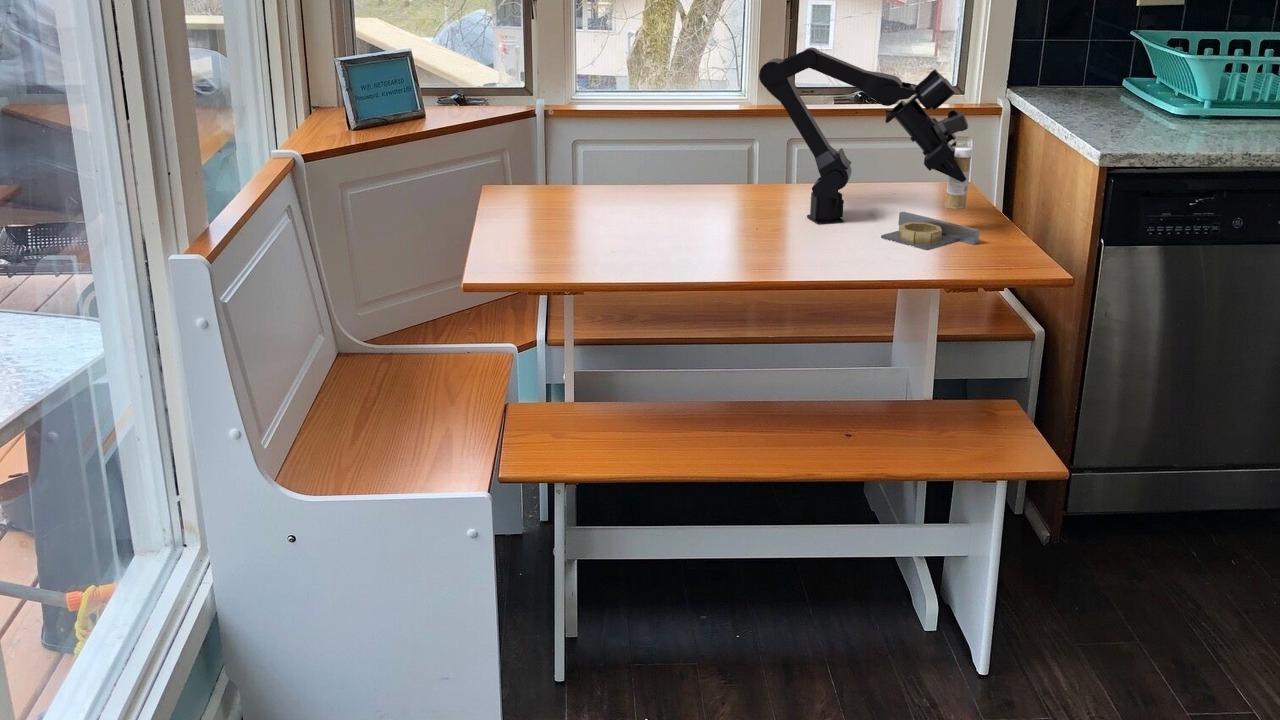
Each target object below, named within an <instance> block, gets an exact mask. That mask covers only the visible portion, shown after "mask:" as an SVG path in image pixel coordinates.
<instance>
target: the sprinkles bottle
mask: <svg viewBox="0 0 1280 720" xmlns="http://www.w3.org/2000/svg"><path fill="white" fill-rule="evenodd" d="M952 148H953V149H954V148H955V156H954V158H955V160H956V162H957V163H958V165H959V167H960V169H961V170H962V172H963V174H964V175H965V177H966V180H965V181H964V182H961V181H958V180H956V179H954V178H952V177H950V176H948V175H947V177H948V178H947V183H946V184H947V185H946V198H945V203H944V207H945V208H947V209H949V210H955V211H958V210H964V209H966V207H967V206H966V204H967V196H968V195H967V194H968V187H969V181H970V169H971V159H972V156H973V148H972V147H971V146H969V145H961V144H959V145H957V144H956V146H952Z"/></svg>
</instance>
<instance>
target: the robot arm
mask: <svg viewBox="0 0 1280 720" xmlns="http://www.w3.org/2000/svg"><path fill="white" fill-rule="evenodd" d="M807 69H811V70H814V71H815V72H819V73H820V74H823V75H826V76H828V77H831V78H834V79H835V80H837V81H840V82H842V83H845V84H847V85H850V86H852V87H854V88H857V89H858V90H860V91H862V92H863V94H865V95H867V96H868V97H869V98H870V99H872V100H874V101H875V102H877V103H879V104H880V105H882V106H886V107H890V106H893V105H895V104H896V105H895V106H894V107H893V108H887V109H886V110H885V116H886V117H885V121H884V122H885V123H886V124H888V123H890V122H891V121H892V120H893V119H895V120H896V121H897V122H898V124H899V125H900V126H901V127H902V128H903V129H904V130H905V132H907V134H908V135H909V136H910V138H909V139H910V140H911V141H912V142H915V143H916V144H917V146H918V147H919V148H920V149H921V151H922V154H923V155H924V160H923V165H924V166H925V168H926V169H927V170H928V172H929V171H932V170H933V171H937V172H939V173H941V174H944V175H946V176H947V177H948V176H950V177H952V178H954V179H956V180H958V181H961V182H964V181H965V180H966V177H965V175H964V174H963V172H962V170H961V169H960V167H959V165H958V163H957V162H956V160H955V158H954V156H955V148H954V149H953V148H952V146H957V142H958V141H957V140H956V137H957V136H956V133H959V132H965V131H966V130H968V128H969V123H968V120H967V118H966V115H965V112H962V111H961V112H958V110H956V108H953V109H951V110H949V111H948V113H947V117H945V118H943V119H942V120H937V119H936V118H935V117H931V116H930V115H929V114H928V113H927V112H926V110H927V111H928V110H931V109H933V110H934V111H936V110H937V109H939V108H940V107H941V106H942V105H943V104H944V103H945V102H947V101H948V100H950V98H951V97H953V96H954V95H955V94H957V91H956V89H955V88H954V86H953V85H952V83H950V81H949V80H948V79H947V78H945V77H944V76H943V75H942V74H941V73H940V72H938V71H937V69H936V68H933V70H931V71H930V73H928V75H927V76H926V77H925V78H923V79H922V81H920V82H919V83H918V84H916V83H911V82H906V81H905V82H904V81H902V79H900V77H898V76H896V75H894V74H893V75H892V74H890V73H889V74H888V73H884V72H877V71H871V70H866V69H864V68H862V67H859V66H856V65H854V64H852V63H849V62H846V61H844V60H841V59H840V58H837V57H834V56H833V55H829V54H827V53H825V52H822V51H820V50H819V49H817V48H816V47H807V48H805V50H802V51H800V52H798V53H796V54H793V55H790V56H787V57H786V58H783V59H782V58H777V57H776V58H772V59H770V60H769V61H767V62H766V63H764V64H763V65H762V66H761V68H760V70H759V73H758V74H759V75H758V78H759V79H758V80H759V81H760V83H761V85H763V87H764V88H765V89H766V90H767V91H768V92H769V93H770V94H771V96H773V97H774V98H775V99H776V100H777V101H779V103H781V105H782V106H783V108H784V110H785V111H786V112H787V115H788V116H789V118H790V120H791V121H792V123H793V124H794V126H795V127H796V129H797V130H798V132H799V133H800V135H801V137H802V139H803V140H804V142H805V144H806V145H807V147H808V149H809V150H810V152H811V153H812V155H813V157H814V161H815V163H816V166H817V171H818V172H819V176H820V177H818V178H817V179H816V181H815V182H814V184H813V186H811V190H812V192H810V194H811V195H810V196H811V197H810V206H809V207H810V210H809V214H807V215H806V218H808V219H809V220H811V221H813V222H814V223H815V224H818V225H821V224H834V223H843V222H844V221H845V220H844V219H843V217H844V202H845V201H844V199H843V193H842V192H840V191H839V190H842V189H843V188H845V187H846V185H847V184H848V183H849V180H850V178H851V175H852V168H851V165H852V161H851V160H850V159H848V157H847V156H846V153H845V151H844V149H843V148H842V147H841V148H840V149H839V150H838V151H837V150H836V149H835V148H834V147H833V146H831V145H830V143H829V141H828V139H827V137H826V136H825V134H824V132H822V130H821V128H820V126H819V125H818V124H817V122H816V120H815V118H814V117H813V115H812V114H811V112H810V110H809V108H808V107H807V106H806V104H805V102H804V101H803V99H802V97H801V96H800V93H798V90H797V85H796V81H795V79H794V75H797V74H799V73H801V72H802V71H805V70H807ZM911 97H912V98H911ZM904 100H908V101H907V102H905V101H904ZM917 100H918V101H919V102H918V101H917ZM899 101H900V102H899ZM897 103H898V104H897ZM921 105H922V106H923V107H924V108H923V107H922V106H921ZM952 140H953V141H954V142H952V143H951V144H950V142H951V141H952ZM955 140H956V141H955Z"/></svg>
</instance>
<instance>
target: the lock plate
mask: <svg viewBox="0 0 1280 720" xmlns="http://www.w3.org/2000/svg"><path fill="white" fill-rule="evenodd" d="M898 225H899V226H898ZM898 225H897V226H898V230H896V231H892V232H889V233H884V234H881V236H880V238H881V239H883V238H884V239H883V240H887V239H888V241H891V240H892V241H891V242H894V241H896V243H898V242H899V243H898V244H902V245H906V246H909V245H911V247H913V246H914V247H915V248H918V249H922V250H924V251H927V250H928V251H929V250H931V249H934V248H935V249H936V248H939V247H941V246H946V245H948V244H952V243H956V242H960V243H965V244H968V245H973V246H975V245H977V244H979V240H980V229H978V228H974V227H973V228H972V227H969V226H965V225H961V224H957V223H952V222H949V221H944V220H942V219H941V220H939V219H937V218H933V217H928V216H923V215H919V214H916V213H911V212H907V211H900V212H899V213H898ZM914 247H913V248H914Z"/></svg>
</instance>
